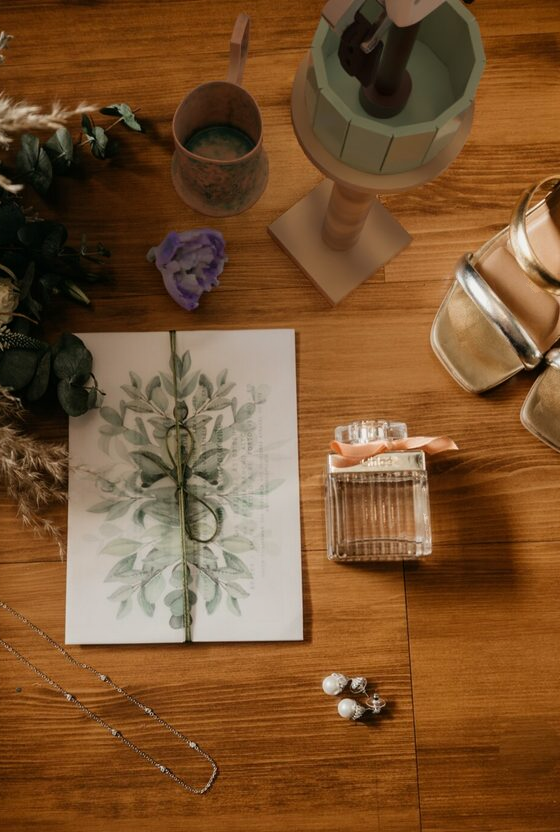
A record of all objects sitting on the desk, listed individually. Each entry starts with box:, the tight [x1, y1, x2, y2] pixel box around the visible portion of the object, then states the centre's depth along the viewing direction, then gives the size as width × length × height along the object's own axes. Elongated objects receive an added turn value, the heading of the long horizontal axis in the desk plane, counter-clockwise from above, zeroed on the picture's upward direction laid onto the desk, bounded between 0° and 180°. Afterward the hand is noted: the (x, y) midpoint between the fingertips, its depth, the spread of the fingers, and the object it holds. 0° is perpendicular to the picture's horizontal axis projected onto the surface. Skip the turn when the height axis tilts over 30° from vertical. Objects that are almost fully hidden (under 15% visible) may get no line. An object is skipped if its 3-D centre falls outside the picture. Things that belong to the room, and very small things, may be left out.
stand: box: [266, 48, 476, 308], centre depth 71 cm, size 15×15×26 cm
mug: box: [170, 12, 270, 218], centre depth 79 cm, size 12×18×12 cm, turn 166°
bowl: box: [304, 0, 487, 175], centre depth 56 cm, size 13×13×6 cm
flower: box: [146, 227, 229, 312], centre depth 80 cm, size 9×9×10 cm
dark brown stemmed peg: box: [358, 19, 423, 119], centre depth 52 cm, size 4×4×12 cm
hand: (406, 29), depth 50 cm, fingers open, 9 cm apart
